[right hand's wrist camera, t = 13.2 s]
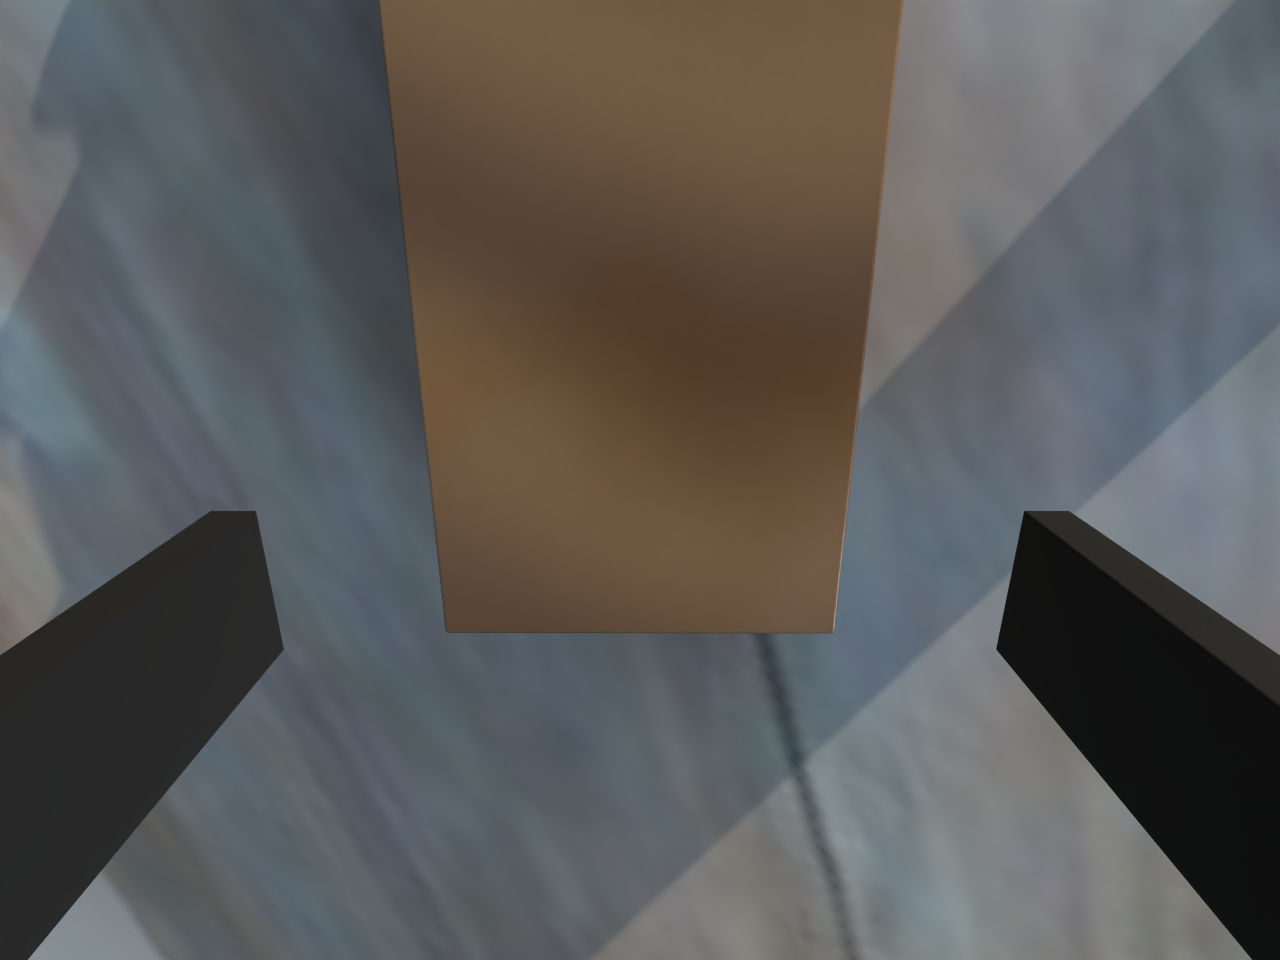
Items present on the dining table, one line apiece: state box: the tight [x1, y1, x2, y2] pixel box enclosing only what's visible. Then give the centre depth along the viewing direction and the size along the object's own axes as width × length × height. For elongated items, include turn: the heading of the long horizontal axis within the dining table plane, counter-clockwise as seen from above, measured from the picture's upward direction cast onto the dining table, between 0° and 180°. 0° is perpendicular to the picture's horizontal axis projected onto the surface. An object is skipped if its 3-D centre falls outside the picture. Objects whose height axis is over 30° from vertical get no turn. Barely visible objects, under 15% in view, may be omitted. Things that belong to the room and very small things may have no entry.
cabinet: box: [378, 0, 904, 633], centre depth 19 cm, size 19×10×9 cm, turn 0°
